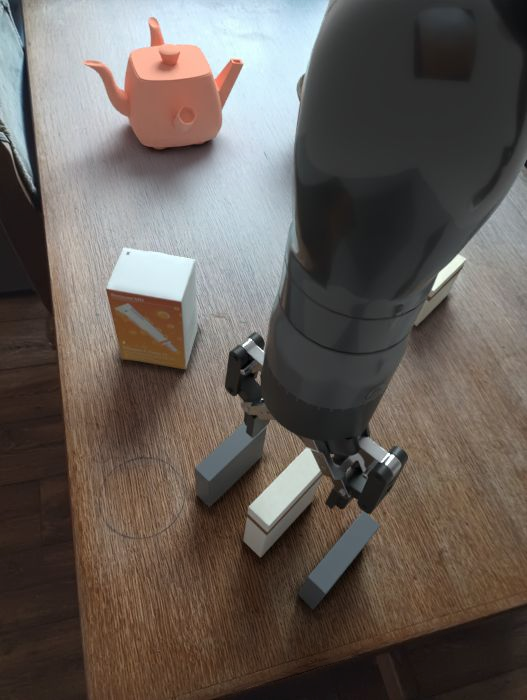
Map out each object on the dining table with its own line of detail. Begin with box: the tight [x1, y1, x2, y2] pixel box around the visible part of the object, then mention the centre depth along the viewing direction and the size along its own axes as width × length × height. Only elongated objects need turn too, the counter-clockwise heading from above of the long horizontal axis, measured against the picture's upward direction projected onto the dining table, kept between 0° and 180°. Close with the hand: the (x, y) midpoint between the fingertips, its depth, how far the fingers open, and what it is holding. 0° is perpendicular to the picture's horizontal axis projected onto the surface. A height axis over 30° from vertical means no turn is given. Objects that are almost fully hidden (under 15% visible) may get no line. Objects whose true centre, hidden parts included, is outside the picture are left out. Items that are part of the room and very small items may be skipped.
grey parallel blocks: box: [194, 422, 381, 610], centre depth 53 cm, size 16×8×7 cm, turn 47°
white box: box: [243, 446, 324, 558], centre depth 52 cm, size 2×8×10 cm, turn 137°
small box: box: [105, 247, 198, 370], centre depth 62 cm, size 8×6×13 cm
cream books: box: [413, 253, 467, 327], centre depth 74 cm, size 16×8×7 cm, turn 47°
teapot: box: [82, 16, 244, 150], centre depth 87 cm, size 18×18×14 cm
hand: (295, 462), depth 44 cm, fingers open, 8 cm apart
